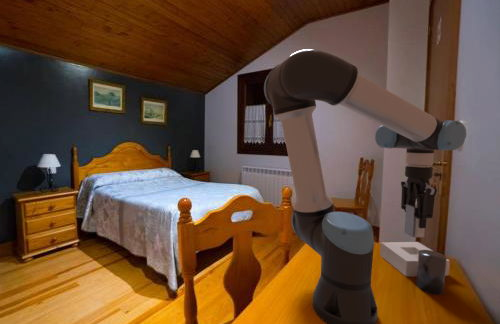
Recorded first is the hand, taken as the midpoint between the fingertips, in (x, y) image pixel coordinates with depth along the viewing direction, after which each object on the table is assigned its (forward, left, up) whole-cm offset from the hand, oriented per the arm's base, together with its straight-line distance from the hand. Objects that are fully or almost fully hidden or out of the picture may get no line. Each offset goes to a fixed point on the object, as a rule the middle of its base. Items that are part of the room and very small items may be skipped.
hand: (414, 233), depth 84 cm
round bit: (-4, -13, -11) cm, 18 cm away
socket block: (0, 0, -11) cm, 11 cm away
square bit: (0, 0, 0) cm, 0 cm away
